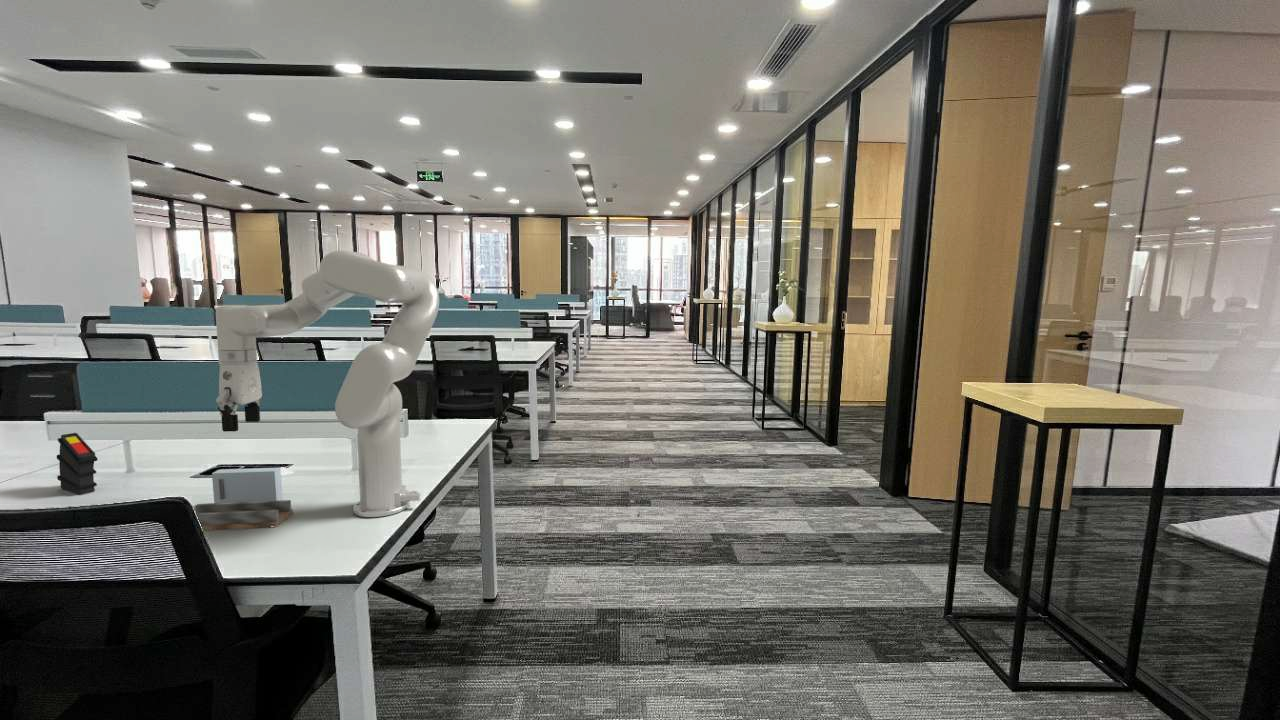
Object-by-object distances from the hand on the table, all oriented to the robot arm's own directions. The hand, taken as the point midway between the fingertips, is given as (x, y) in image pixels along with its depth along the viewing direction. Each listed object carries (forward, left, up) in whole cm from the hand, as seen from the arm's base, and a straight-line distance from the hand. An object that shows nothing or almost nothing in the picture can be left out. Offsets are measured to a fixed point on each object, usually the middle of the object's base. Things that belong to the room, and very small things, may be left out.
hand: (242, 426), depth 136 cm
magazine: (+49, -16, -20) cm, 55 cm away
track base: (-3, +11, -20) cm, 23 cm away
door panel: (0, 0, -20) cm, 20 cm away
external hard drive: (+7, -22, -21) cm, 31 cm away
